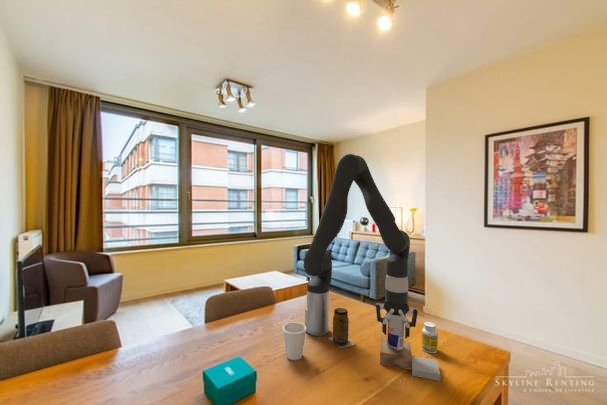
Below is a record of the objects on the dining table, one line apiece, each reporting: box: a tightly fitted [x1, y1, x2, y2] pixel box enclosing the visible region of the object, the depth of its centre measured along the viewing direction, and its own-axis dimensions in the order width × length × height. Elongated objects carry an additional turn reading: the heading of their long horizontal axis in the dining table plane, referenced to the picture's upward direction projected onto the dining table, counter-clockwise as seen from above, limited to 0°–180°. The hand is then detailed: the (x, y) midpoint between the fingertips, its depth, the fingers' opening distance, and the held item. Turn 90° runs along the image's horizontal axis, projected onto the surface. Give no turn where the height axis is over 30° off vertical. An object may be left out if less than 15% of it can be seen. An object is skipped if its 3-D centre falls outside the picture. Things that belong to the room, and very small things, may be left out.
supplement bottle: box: [421, 321, 439, 354], centre depth 101 cm, size 5×5×10 cm
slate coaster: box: [411, 355, 441, 382], centre depth 89 cm, size 8×8×2 cm
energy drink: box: [386, 314, 405, 351], centre depth 96 cm, size 5×5×12 cm
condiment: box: [327, 307, 356, 349], centre depth 107 cm, size 7×8×12 cm
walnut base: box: [379, 337, 413, 371], centre depth 96 cm, size 10×10×4 cm
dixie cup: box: [282, 321, 307, 361], centre depth 97 cm, size 8×8×10 cm
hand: (395, 335), depth 96 cm, fingers open, 6 cm apart
